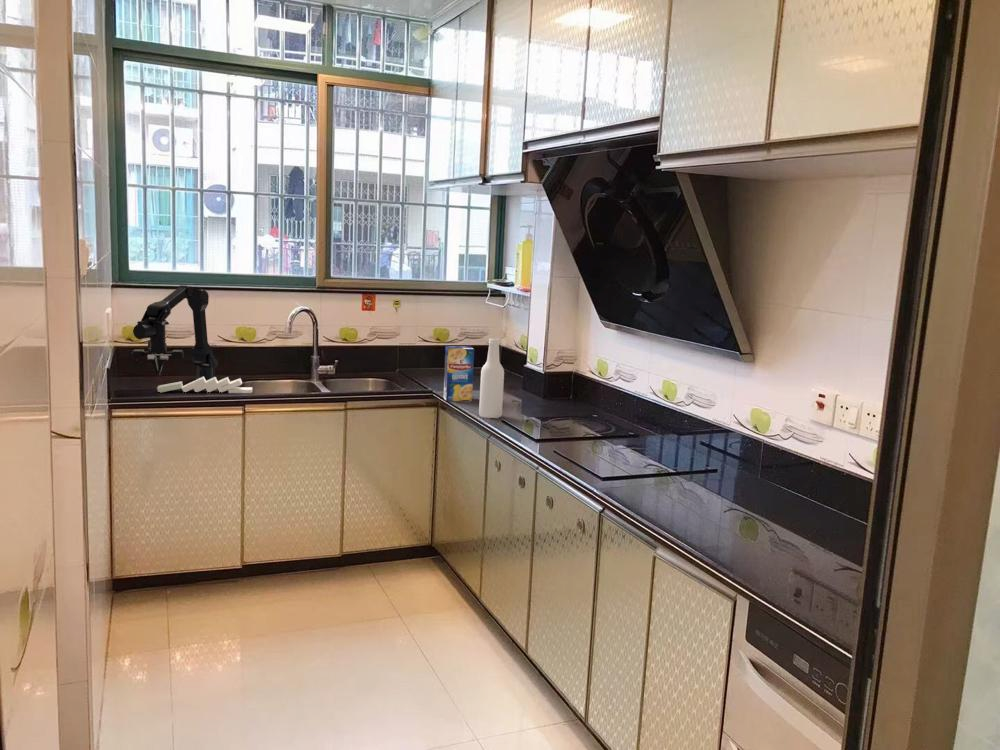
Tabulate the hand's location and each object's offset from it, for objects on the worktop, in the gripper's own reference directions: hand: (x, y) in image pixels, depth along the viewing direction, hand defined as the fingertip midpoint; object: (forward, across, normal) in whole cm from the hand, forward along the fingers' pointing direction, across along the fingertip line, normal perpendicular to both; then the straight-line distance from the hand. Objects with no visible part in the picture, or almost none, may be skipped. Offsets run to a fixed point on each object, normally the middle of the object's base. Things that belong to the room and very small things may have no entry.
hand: (158, 375), depth 323 cm
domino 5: (+6, -23, 0) cm, 24 cm away
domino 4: (+6, -18, 0) cm, 19 cm away
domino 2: (+6, -9, 0) cm, 11 cm away
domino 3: (+6, -14, 0) cm, 15 cm away
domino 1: (+6, 0, 0) cm, 6 cm away
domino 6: (+6, -27, 0) cm, 27 cm away
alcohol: (+7, -124, +49) cm, 134 cm away
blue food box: (+7, -118, +17) cm, 120 cm away
